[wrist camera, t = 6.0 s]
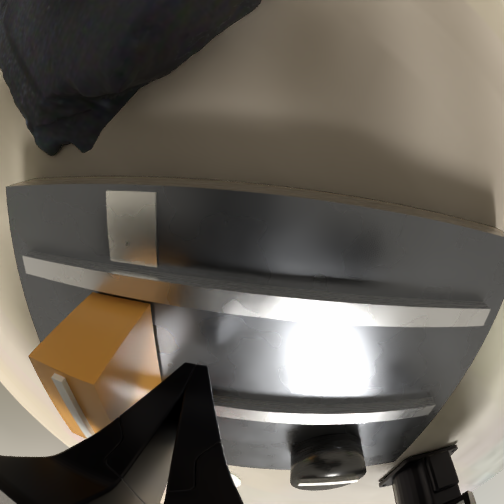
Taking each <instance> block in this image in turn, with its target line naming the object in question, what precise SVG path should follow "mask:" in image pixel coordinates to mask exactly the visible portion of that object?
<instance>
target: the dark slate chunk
mask: <svg viewBox="0 0 504 504" xmlns="http://www.w3.org/2000/svg"><path fill="white" fill-rule="evenodd" d="M260 2H261V0H0V69H1V70H2V72H3V77H4V80H5V82H6V84H7V85H8V87H9V88H10V92H11V94H12V96H13V99H14V102H15V104H16V106H17V107H18V109H19V110H20V112H21V114H22V115H23V117H24V118H25V119H26V125H27V127H28V129H29V130H30V132H31V133H32V135H33V136H34V138H35V142H36V144H37V145H38V147H39V148H40V149H41V150H43V151H44V152H46V153H47V154H49V155H50V156H53V155H54V154H55V153H57V152H58V151H59V150H60V149H61V146H62V144H70V143H72V144H74V145H75V146H76V147H77V148H78V149H79V150H80V151H81V152H82V153H84V152H86V151H88V150H91V149H92V147H93V145H94V143H95V142H96V140H97V138H98V136H99V134H100V132H101V131H102V129H103V128H104V127H105V126H106V125H107V124H108V122H109V121H110V120H111V119H112V118H113V117H114V116H115V115H116V114H117V113H118V112H119V110H120V109H121V108H122V107H123V106H124V105H125V104H126V103H127V102H128V101H129V99H130V98H131V97H132V96H133V95H134V94H135V93H136V92H137V91H138V90H139V88H141V87H143V86H145V85H146V84H148V83H149V82H151V81H153V80H156V79H159V78H161V77H163V76H165V75H167V74H169V73H171V72H172V71H173V70H175V69H176V68H177V67H178V66H180V65H181V64H182V63H183V62H184V61H186V60H187V59H188V58H189V57H191V56H192V55H193V54H195V53H197V52H198V51H200V50H201V49H202V48H203V47H204V46H205V45H206V44H207V43H208V42H209V41H210V40H211V39H213V38H214V37H216V36H217V35H218V34H220V33H221V32H222V31H223V30H225V29H226V28H228V27H229V26H230V25H232V24H233V23H235V22H236V21H238V20H240V19H241V18H243V17H244V16H246V15H247V14H249V13H250V12H252V11H253V10H254V9H255V8H256V7H257V6H258V5H259V4H260Z"/></svg>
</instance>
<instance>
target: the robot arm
mask: <svg viewBox="0 0 504 504" xmlns="http://www.w3.org/2000/svg"><path fill="white" fill-rule="evenodd" d="M119 417H120V418H119ZM119 417H117V418H116V419H115V420H114V421H112V422H111V423H110V424H108V425H107V426H106V427H104V428H103V429H101V430H100V431H98V432H97V433H95V434H94V435H92V436H90V437H89V438H87V439H85V440H83V441H82V442H80V443H78V444H76V445H74V446H73V447H71V448H69V449H67V450H65V451H64V452H61V453H59V454H56V455H53V456H48V457H15V456H14V457H13V456H1V455H0V504H160V501H161V498H162V495H163V493H164V490H165V487H166V484H167V489H166V496H165V501H164V504H243V501H242V499H241V497H240V495H239V493H238V490H237V488H236V486H235V484H234V481H233V479H232V477H231V474H230V471H229V469H228V466H227V462H226V459H225V455H224V451H223V446H222V443H221V437H220V432H219V427H218V422H217V417H216V411H215V406H214V400H213V394H212V389H211V383H210V376H209V370H208V367H207V366H205V365H199V364H197V365H196V364H194V363H188V362H185V363H183V364H182V365H181V366H180V367H179V368H178V369H176V370H175V371H174V372H173V373H172V374H170V375H169V376H168V377H167V378H166V379H164V380H163V381H162V382H161V383H160V384H158V385H157V386H156V387H155V388H154V389H152V390H151V391H150V392H149V393H147V394H146V395H145V396H144V397H143V398H141V399H140V400H139V401H138V402H136V403H135V404H134V405H133V406H131V407H130V408H129V409H128V410H126V411H125V412H124V413H123V414H121V415H120V416H119ZM457 449H458V447H457V445H454V446H451V447H448V448H444V449H441V450H437V451H434V452H430V453H426V454H422V455H418V456H413V457H410V458H407V459H406V460H404V461H403V462H402V463H401V464H400V465H399V466H398V467H397V468H396V469H395V470H394V471H393V472H392V473H390V474H389V475H388V476H387V477H386V478H385V479H384V480H382V481H381V482H380V483H379V487H385V486H390V485H392V486H393V491H394V496H395V502H396V504H463V503H464V504H476V502H475V499H474V496H473V493H472V492H470V491H466V492H464V493H463V494H462V495H461V493H460V490H459V486H458V483H459V480H458V476H457V473H456V470H455V468H454V465H453V462H452V459H451V455H452V454H453V453H454V452H455V451H456V450H457ZM167 482H168V483H167Z"/></svg>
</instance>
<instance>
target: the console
mask: <svg viewBox="0 0 504 504" xmlns="http://www.w3.org/2000/svg"><path fill="white" fill-rule="evenodd" d="M6 195H7V206H8V215H9V223H10V230H11V237H12V242H13V248H14V253H15V258H16V263H17V267H18V272H19V276H20V280H21V284H22V287H23V291H24V295H25V298H26V301H27V305H28V308H29V311H30V314H31V317H32V320H33V323H34V326H35V329H36V331H37V334H38V337H39V339H40V342H42V341H43V340H44V339H45V338H46V337H47V336H48V335H49V334H50V333H51V332H52V331H53V330H54V329H55V328H56V327H57V326H58V325H59V324H60V323H61V322H62V321H63V320H64V319H65V318H66V317H67V316H68V315H69V314H70V313H71V312H72V311H73V310H74V309H75V308H76V307H77V306H78V305H79V304H80V303H81V302H82V301H84V300H85V299H86V298H87V297H88V296H89V295H90V294H91V293H92V292H95V293H99V294H104V295H108V296H113V297H118V298H123V299H128V300H133V301H138V302H143V303H149V304H150V306H151V315H152V323H153V331H154V338H155V345H156V352H157V358H158V364H159V370H160V375H161V381H163V380H164V379H166V378H167V377H168V376H169V375H170V374H172V373H173V372H174V371H175V370H176V369H178V368H179V367H180V366H181V365H182V364H183V363H185V362H188V363H194V364H196V365H197V364H199V365H205V366H207V367H208V370H209V376H210V383H211V389H212V394H213V400H214V406H215V411H216V417H217V422H218V427H219V432H220V437H221V443H222V446H223V451H224V455H225V459H226V462H227V465H233V466H241V467H250V468H262V469H280V470H291V477H290V483H291V485H292V486H294V487H295V488H298V489H302V490H327V489H333V488H338V487H342V486H345V485H348V484H350V483H354V482H357V481H358V480H359V479H360V478H361V477H363V476H364V475H365V473H366V466H370V465H377V464H383V463H389V462H394V461H395V460H396V459H397V458H398V457H399V456H400V455H401V454H402V453H403V452H404V451H405V450H406V449H407V448H408V447H409V446H410V445H411V444H412V443H413V442H414V441H415V439H416V438H417V437H418V436H419V435H420V434H421V433H422V431H423V430H424V429H425V428H426V427H427V425H428V424H429V423H430V422H431V421H432V419H433V418H434V417H435V416H436V414H437V413H438V412H439V410H440V409H441V408H442V406H443V405H444V404H445V402H446V401H447V400H448V398H449V397H450V395H451V394H452V393H453V391H454V390H455V388H456V387H457V385H458V384H459V382H460V381H461V379H462V378H463V376H464V375H465V373H466V371H467V370H468V368H469V367H470V365H471V363H472V362H473V360H474V358H475V356H476V355H477V353H478V351H479V349H480V347H481V346H482V344H483V342H484V340H485V338H486V336H487V334H488V332H489V330H490V328H491V326H492V324H493V322H494V320H495V318H496V315H497V313H498V311H499V309H500V306H501V304H502V302H503V299H504V232H503V231H501V230H499V229H497V228H495V227H491V226H488V225H484V224H480V223H477V222H473V221H469V220H465V219H461V218H457V217H453V216H449V215H445V214H441V213H436V212H432V211H428V210H423V209H418V208H414V207H409V206H404V205H399V204H394V203H389V202H384V201H378V200H373V199H367V198H361V197H355V196H349V195H343V194H336V193H330V192H323V191H316V190H308V189H300V188H292V187H284V186H275V185H266V184H256V183H246V182H234V181H222V180H208V179H192V178H172V177H140V176H84V177H55V178H37V179H31V180H28V181H24V182H20V183H17V184H13V185H10V186H6Z"/></svg>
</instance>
